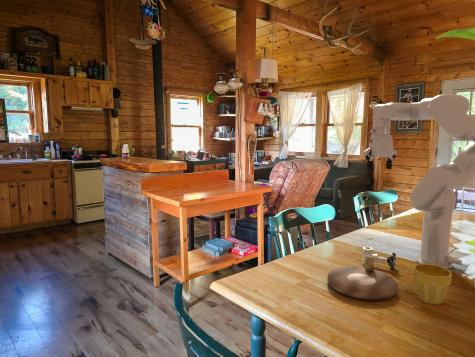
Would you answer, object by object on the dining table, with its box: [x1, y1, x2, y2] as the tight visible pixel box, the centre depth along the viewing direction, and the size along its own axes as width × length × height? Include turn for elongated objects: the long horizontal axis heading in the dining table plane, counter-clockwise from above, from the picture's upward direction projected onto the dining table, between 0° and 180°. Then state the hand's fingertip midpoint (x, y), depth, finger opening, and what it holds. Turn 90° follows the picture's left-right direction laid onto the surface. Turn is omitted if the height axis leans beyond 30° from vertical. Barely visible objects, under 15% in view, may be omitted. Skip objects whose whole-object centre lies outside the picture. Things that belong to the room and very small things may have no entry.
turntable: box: [327, 255, 398, 301], centre depth 112 cm, size 22×22×7 cm
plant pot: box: [412, 263, 453, 305], centre depth 104 cm, size 10×10×10 cm
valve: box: [361, 246, 397, 271], centre depth 130 cm, size 7×7×12 cm
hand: (379, 169), depth 155 cm, fingers open, 9 cm apart
